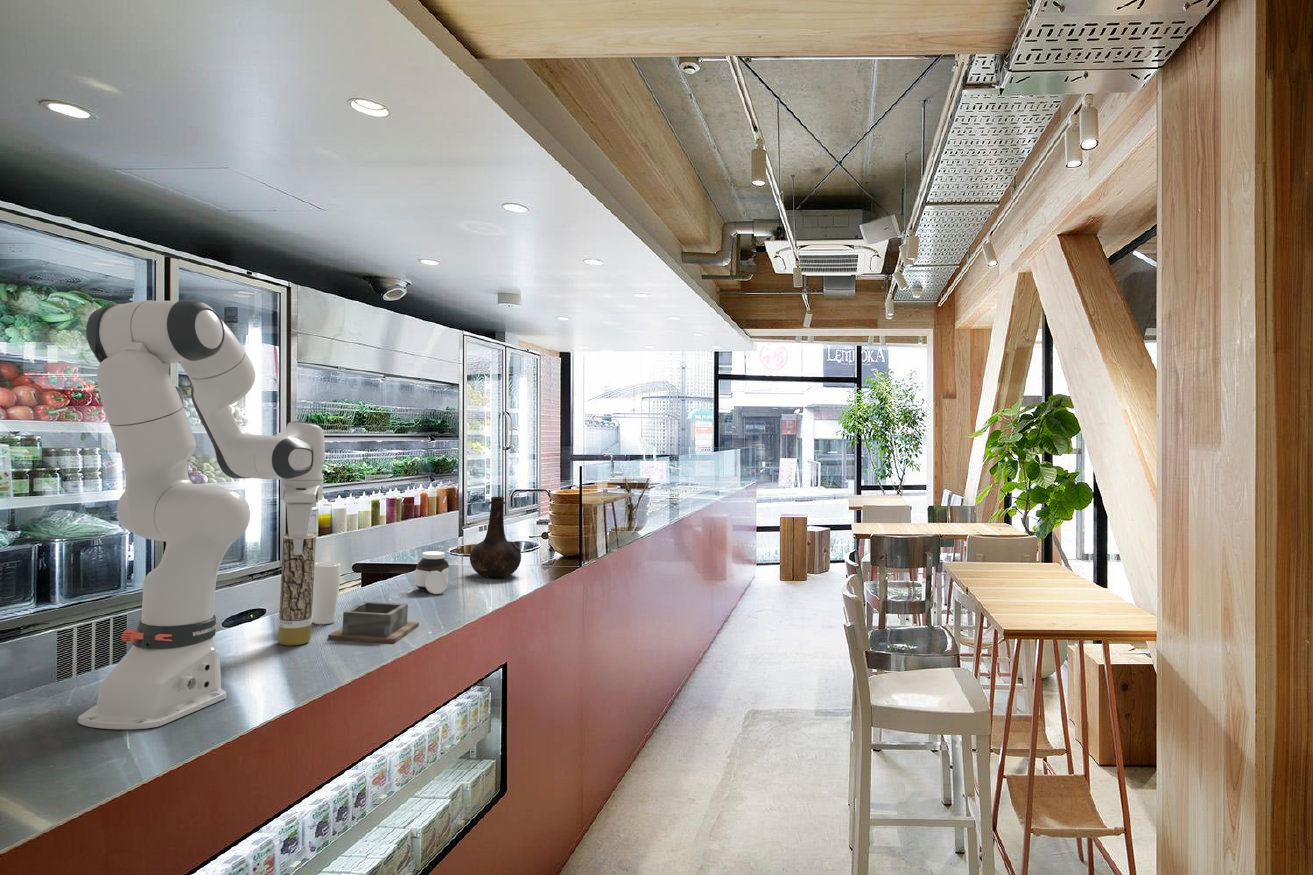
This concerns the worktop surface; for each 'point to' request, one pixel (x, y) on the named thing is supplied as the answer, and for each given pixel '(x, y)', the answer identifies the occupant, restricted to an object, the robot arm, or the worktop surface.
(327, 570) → the drinking glass
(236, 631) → the worktop surface
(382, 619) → the grey square open box
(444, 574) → the spread jar
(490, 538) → the dark brown vase
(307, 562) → the paper tube
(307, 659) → the worktop surface
